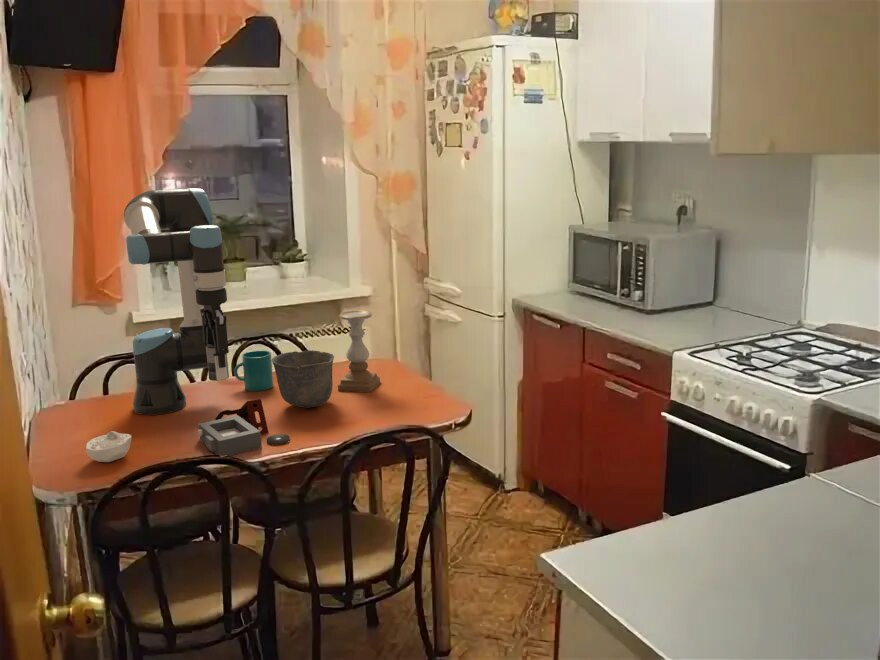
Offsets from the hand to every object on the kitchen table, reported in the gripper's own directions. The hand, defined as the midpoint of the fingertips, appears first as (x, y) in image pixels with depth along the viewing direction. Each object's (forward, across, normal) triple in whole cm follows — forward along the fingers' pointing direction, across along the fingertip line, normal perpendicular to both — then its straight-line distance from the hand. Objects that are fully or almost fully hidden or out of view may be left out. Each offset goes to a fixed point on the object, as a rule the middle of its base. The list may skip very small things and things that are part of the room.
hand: (218, 376), depth 215 cm
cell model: (+19, -8, -27) cm, 34 cm away
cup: (+19, -44, +24) cm, 54 cm away
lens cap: (+19, +6, +13) cm, 23 cm away
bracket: (+19, -11, +8) cm, 24 cm away
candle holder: (+19, -25, +52) cm, 61 cm away
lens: (0, 0, 0) cm, 0 cm away
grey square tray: (+19, 0, +2) cm, 19 cm away
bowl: (+19, -17, +30) cm, 40 cm away
